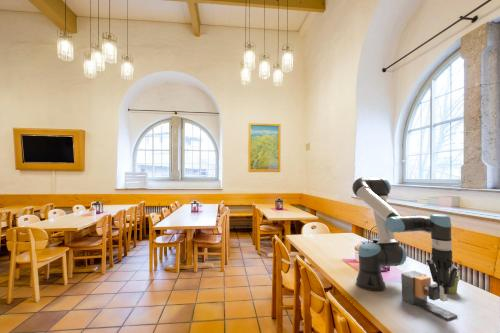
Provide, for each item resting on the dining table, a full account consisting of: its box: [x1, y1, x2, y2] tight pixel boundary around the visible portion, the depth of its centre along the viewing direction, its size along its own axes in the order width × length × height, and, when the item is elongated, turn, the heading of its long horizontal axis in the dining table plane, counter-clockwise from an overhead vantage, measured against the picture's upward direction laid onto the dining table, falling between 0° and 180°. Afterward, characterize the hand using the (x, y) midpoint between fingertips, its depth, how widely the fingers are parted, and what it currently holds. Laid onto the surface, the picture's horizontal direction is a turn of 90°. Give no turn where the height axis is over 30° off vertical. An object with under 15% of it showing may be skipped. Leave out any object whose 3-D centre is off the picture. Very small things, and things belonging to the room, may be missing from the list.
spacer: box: [415, 274, 432, 299], centre depth 120 cm, size 3×7×9 cm, turn 111°
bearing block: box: [400, 270, 458, 322], centre depth 118 cm, size 20×10×14 cm, turn 21°
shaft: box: [423, 283, 440, 301], centre depth 121 cm, size 15×6×6 cm, turn 21°
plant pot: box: [442, 272, 461, 295], centre depth 134 cm, size 9×9×9 cm
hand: (443, 300), depth 112 cm, fingers closed
